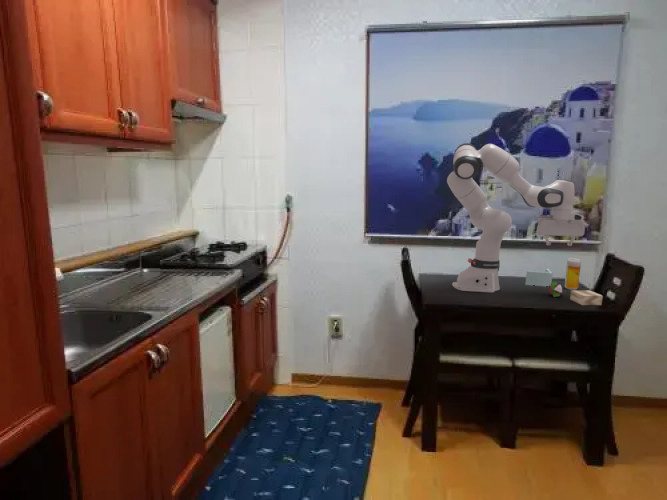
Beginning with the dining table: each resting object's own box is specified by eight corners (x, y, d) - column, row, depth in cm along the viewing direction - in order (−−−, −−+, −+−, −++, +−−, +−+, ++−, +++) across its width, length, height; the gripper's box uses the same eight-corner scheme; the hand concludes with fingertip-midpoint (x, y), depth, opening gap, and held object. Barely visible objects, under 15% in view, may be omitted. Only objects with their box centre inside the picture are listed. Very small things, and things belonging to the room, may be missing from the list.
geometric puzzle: (540, 289, 226) (550, 278, 221) (551, 288, 229) (560, 277, 223) (549, 301, 222) (559, 290, 216) (560, 300, 224) (570, 289, 219)
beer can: (579, 290, 234) (583, 260, 232) (566, 289, 236) (569, 259, 233) (575, 287, 240) (579, 258, 238) (562, 286, 241) (566, 257, 239)
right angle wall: (546, 282, 252) (547, 268, 251) (550, 287, 241) (552, 273, 239) (522, 280, 255) (523, 266, 254) (525, 285, 243) (527, 271, 242)
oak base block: (582, 305, 209) (583, 295, 208) (570, 300, 218) (571, 290, 217) (601, 305, 210) (602, 295, 209) (588, 299, 219) (589, 290, 218)
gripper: (540, 215, 216) (538, 246, 219) (587, 216, 215) (584, 247, 217) (535, 214, 222) (533, 243, 225) (581, 215, 221) (578, 244, 223)
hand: (558, 245), depth 221 cm, fingers open, 8 cm apart
